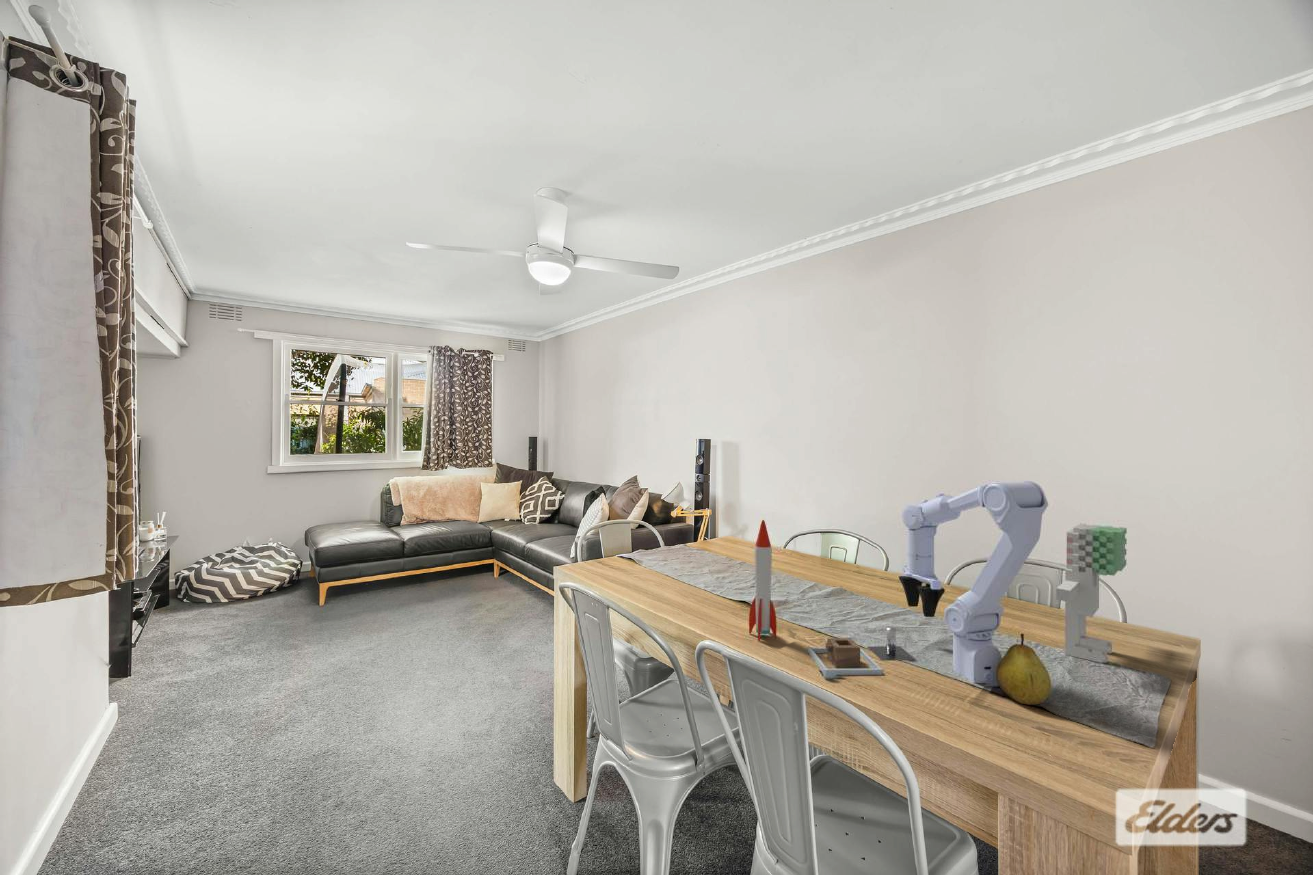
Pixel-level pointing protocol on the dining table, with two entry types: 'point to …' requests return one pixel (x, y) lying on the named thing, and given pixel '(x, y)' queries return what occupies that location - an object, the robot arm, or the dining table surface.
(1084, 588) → the toy
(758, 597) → the toy rocket
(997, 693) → the dining table surface
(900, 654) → the post
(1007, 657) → the fruit
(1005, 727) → the dining table surface
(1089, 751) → the dining table surface
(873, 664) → the grey rectangular frame
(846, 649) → the collar
